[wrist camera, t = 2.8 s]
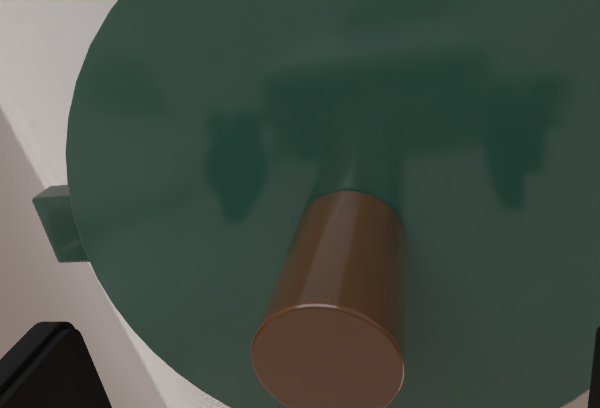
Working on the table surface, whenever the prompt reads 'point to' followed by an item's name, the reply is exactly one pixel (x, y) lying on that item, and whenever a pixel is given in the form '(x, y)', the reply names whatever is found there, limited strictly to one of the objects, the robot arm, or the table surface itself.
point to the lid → (348, 196)
